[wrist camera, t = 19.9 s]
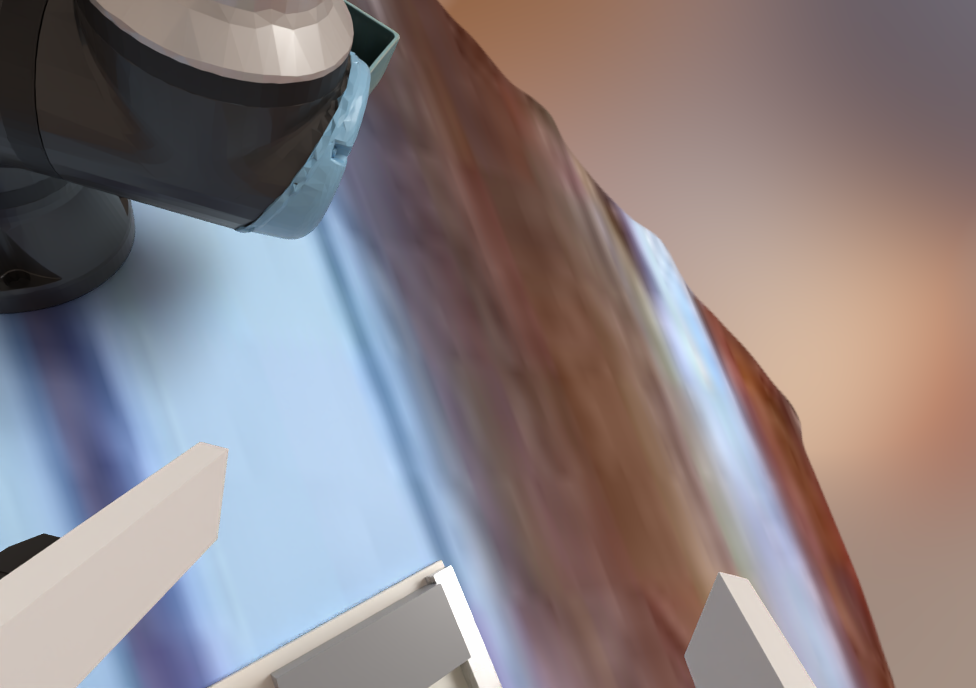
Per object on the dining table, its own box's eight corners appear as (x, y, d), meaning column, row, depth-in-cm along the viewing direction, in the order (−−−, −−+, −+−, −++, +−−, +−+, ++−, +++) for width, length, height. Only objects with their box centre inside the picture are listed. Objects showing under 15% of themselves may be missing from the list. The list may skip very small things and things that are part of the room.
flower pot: (268, 101, 53) (277, 19, 46) (308, 61, 58) (321, -18, 51) (346, 147, 55) (367, 76, 48) (378, 105, 60) (401, 35, 53)
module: (297, 759, 31) (306, 773, 28) (270, 673, 32) (276, 678, 29) (451, 654, 37) (471, 657, 34) (424, 585, 38) (441, 582, 35)
